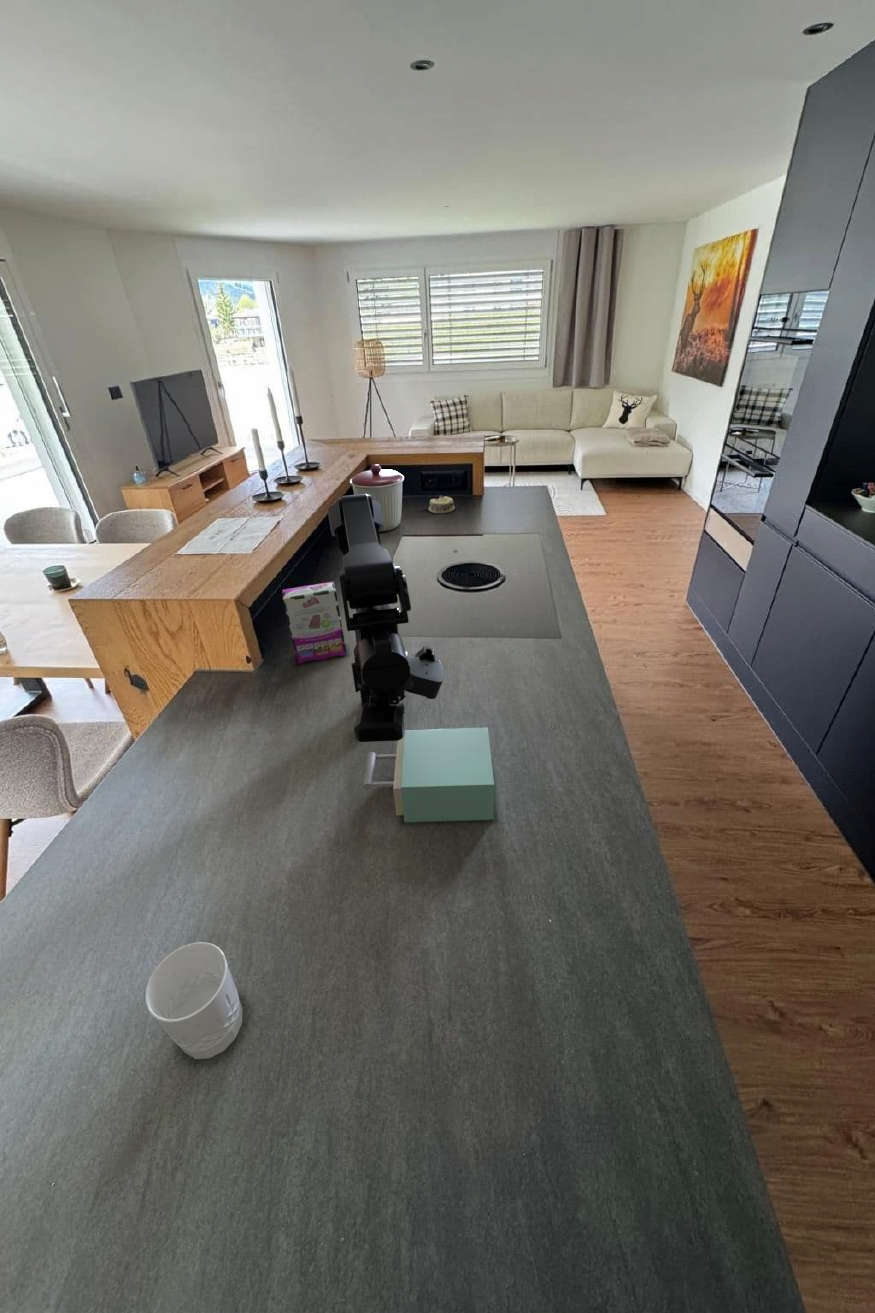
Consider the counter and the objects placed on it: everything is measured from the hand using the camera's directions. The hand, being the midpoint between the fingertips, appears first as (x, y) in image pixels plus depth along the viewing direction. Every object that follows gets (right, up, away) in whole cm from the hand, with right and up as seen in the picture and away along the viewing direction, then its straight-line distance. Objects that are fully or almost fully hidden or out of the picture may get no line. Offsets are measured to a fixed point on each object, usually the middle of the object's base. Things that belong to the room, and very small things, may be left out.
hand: (389, 736), depth 83 cm
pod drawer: (+5, -9, +6) cm, 12 cm away
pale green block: (+9, -10, +6) cm, 15 cm away
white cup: (-18, -30, -21) cm, 41 cm away
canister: (-12, +57, +110) cm, 124 cm away
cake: (+9, +67, +123) cm, 140 cm away
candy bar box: (-19, +12, +42) cm, 48 cm away
